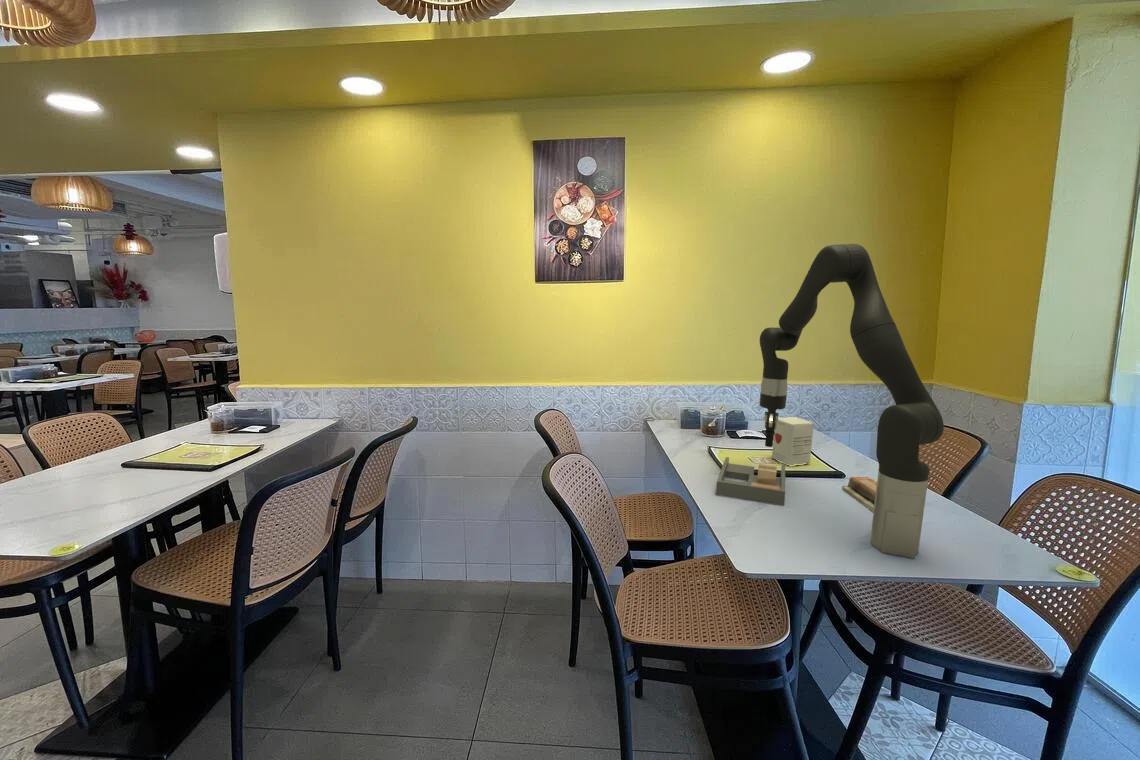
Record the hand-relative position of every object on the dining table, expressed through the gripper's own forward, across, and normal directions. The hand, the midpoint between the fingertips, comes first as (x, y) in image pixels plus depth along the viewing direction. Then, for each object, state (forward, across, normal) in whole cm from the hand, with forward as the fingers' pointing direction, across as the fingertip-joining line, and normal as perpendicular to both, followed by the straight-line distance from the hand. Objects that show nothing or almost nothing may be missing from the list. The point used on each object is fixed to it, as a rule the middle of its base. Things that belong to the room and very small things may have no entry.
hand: (768, 446), depth 153 cm
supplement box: (+10, -19, +7) cm, 23 cm away
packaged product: (+10, +8, +29) cm, 32 cm away
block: (+8, +10, 0) cm, 12 cm away
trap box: (+10, +10, -4) cm, 15 cm away
